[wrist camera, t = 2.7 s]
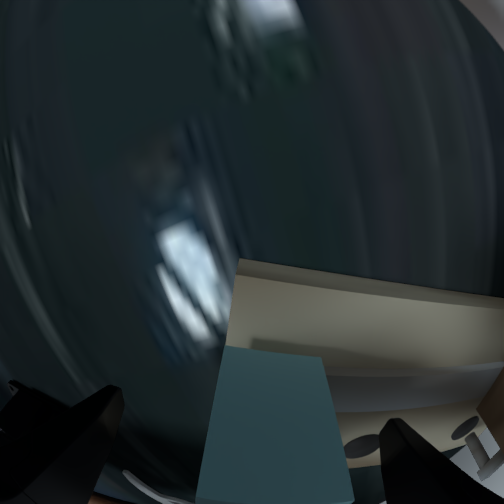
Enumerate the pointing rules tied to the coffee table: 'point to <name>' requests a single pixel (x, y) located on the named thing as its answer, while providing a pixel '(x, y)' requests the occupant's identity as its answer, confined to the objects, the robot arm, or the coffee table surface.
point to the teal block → (273, 434)
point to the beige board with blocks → (383, 353)
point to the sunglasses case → (104, 499)
